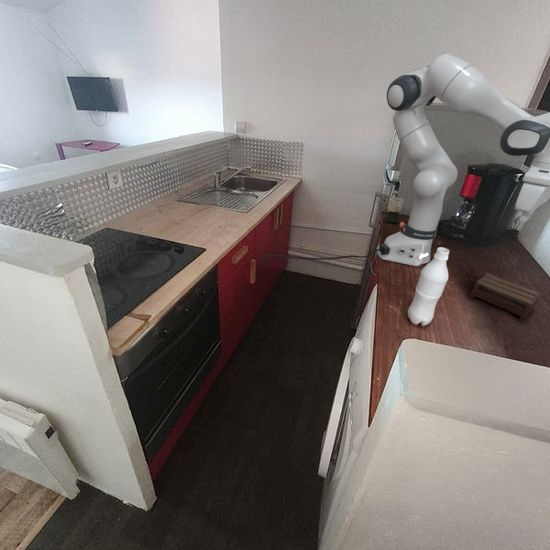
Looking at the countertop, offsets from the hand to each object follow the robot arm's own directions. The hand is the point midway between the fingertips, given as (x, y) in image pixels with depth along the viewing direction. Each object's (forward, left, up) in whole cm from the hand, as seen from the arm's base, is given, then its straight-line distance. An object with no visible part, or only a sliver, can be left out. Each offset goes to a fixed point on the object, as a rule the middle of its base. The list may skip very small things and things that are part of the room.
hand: (524, 220), depth 88 cm
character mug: (-25, +68, -29) cm, 78 cm away
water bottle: (-26, -19, -29) cm, 44 cm away
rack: (+4, -2, -29) cm, 29 cm away
